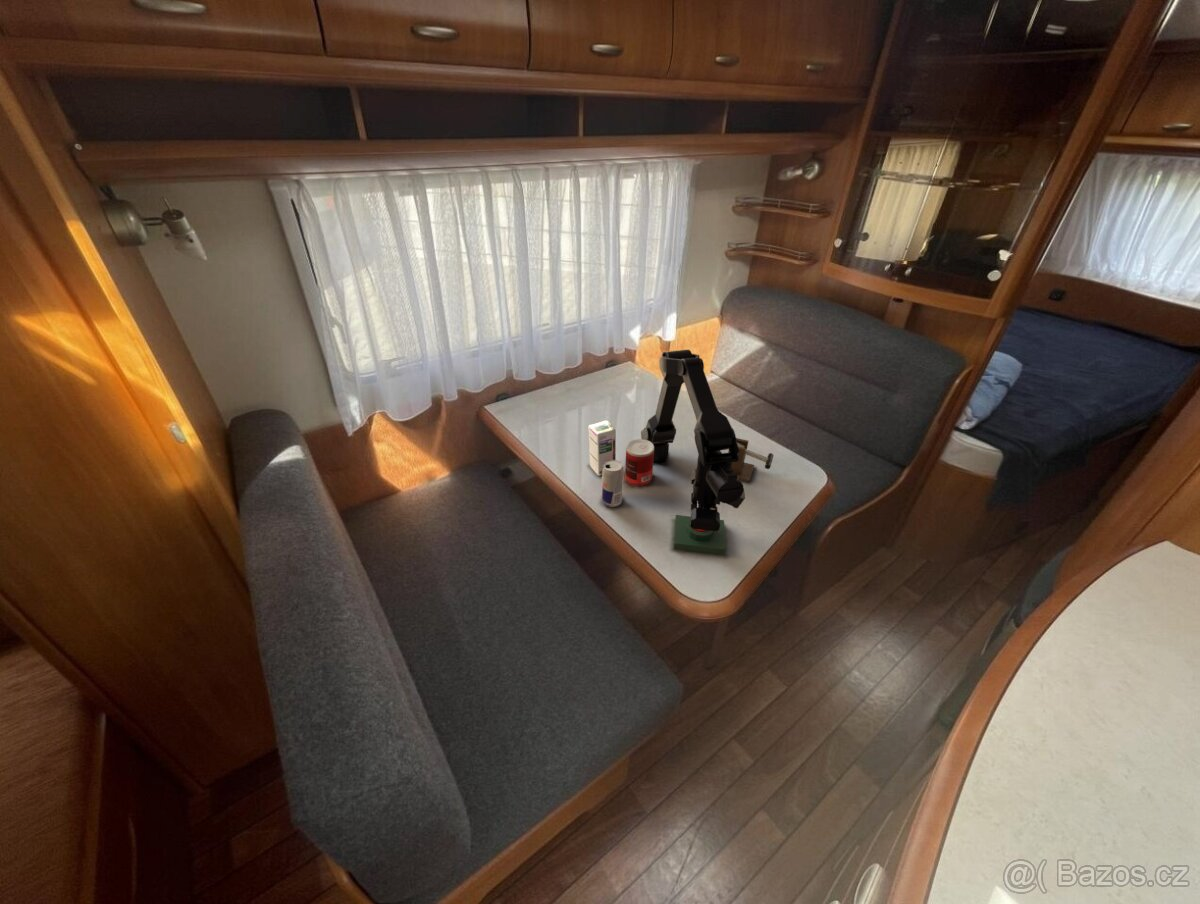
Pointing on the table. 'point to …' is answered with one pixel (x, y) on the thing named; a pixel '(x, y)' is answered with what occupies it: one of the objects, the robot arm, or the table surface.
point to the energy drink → (612, 483)
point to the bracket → (742, 463)
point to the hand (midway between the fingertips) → (700, 525)
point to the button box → (698, 538)
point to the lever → (759, 456)
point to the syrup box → (601, 445)
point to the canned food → (639, 462)
